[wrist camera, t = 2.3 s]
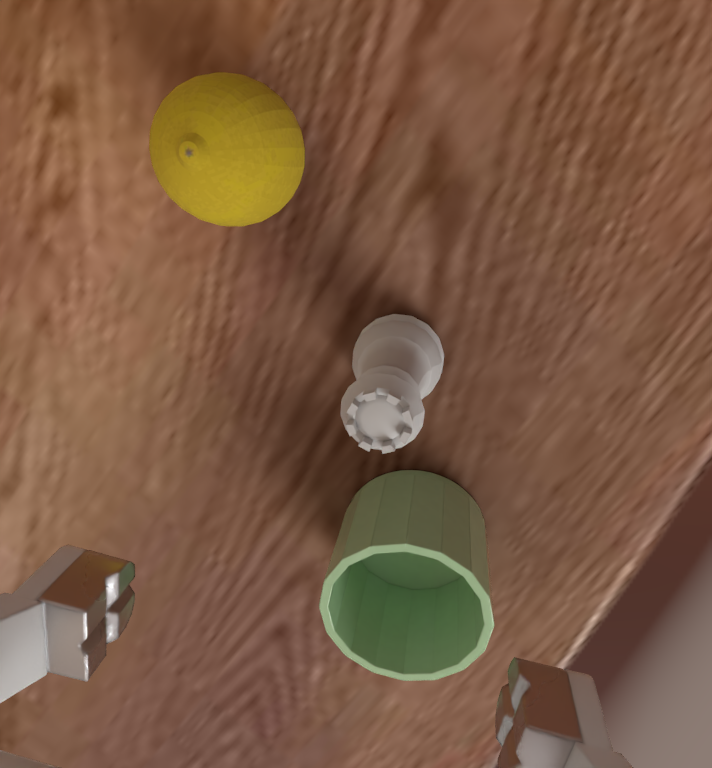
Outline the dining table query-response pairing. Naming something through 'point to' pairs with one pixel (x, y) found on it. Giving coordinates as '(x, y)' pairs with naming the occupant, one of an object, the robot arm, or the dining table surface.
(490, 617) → the cup
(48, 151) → the dining table surface
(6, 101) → the dining table surface
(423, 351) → the rook chess piece
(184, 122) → the lemon
